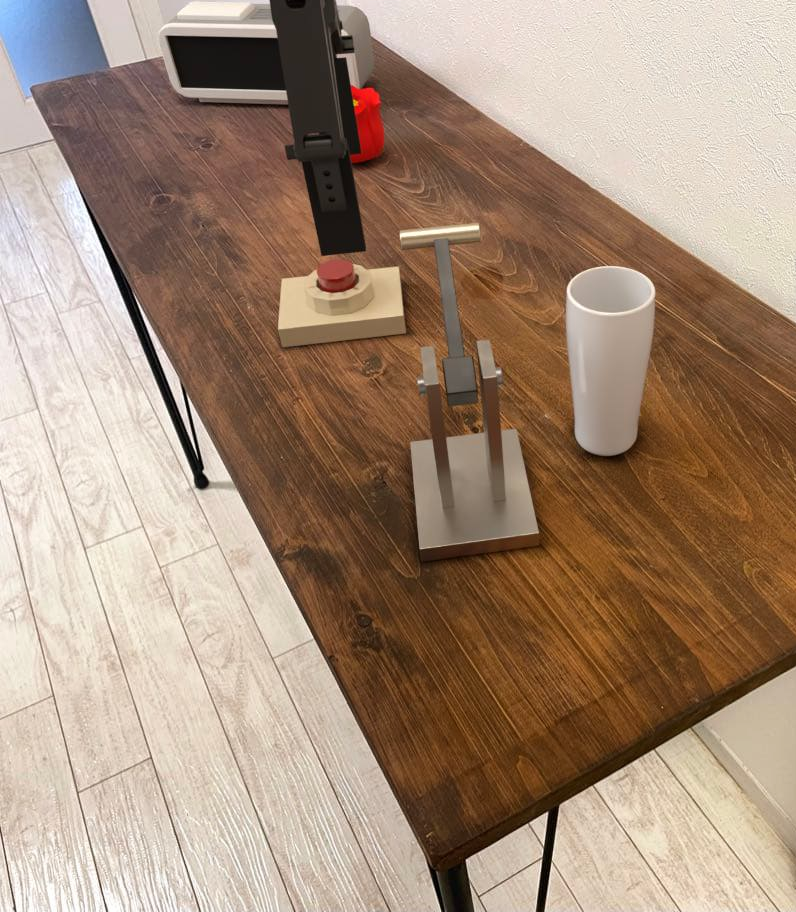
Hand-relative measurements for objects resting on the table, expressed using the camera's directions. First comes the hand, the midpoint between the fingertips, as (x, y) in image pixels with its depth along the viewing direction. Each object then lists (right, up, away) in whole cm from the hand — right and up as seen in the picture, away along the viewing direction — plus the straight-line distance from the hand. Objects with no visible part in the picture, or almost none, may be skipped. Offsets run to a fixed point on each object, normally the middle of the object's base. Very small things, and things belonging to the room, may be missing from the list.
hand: (343, 198), depth 62 cm
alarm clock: (-25, +35, +73) cm, 84 cm away
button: (-7, 0, +29) cm, 30 cm away
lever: (+7, -7, +7) cm, 12 cm away
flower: (-10, +21, +57) cm, 62 cm away
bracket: (+8, -21, +13) cm, 25 cm away
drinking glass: (+19, -16, +18) cm, 30 cm away
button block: (-7, -3, +32) cm, 32 cm away
